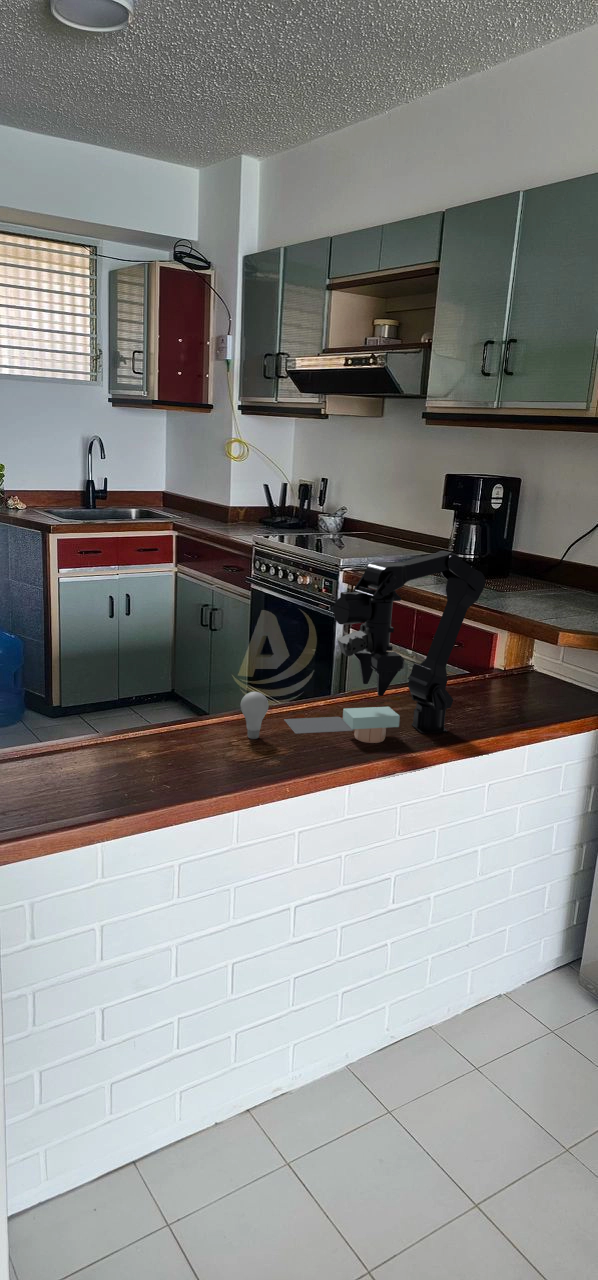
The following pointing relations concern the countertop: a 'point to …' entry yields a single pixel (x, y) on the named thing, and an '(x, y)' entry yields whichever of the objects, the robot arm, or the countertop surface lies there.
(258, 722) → the lightbulb
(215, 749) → the countertop surface
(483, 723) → the countertop surface
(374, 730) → the nut
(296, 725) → the mat
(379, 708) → the pale teal block
